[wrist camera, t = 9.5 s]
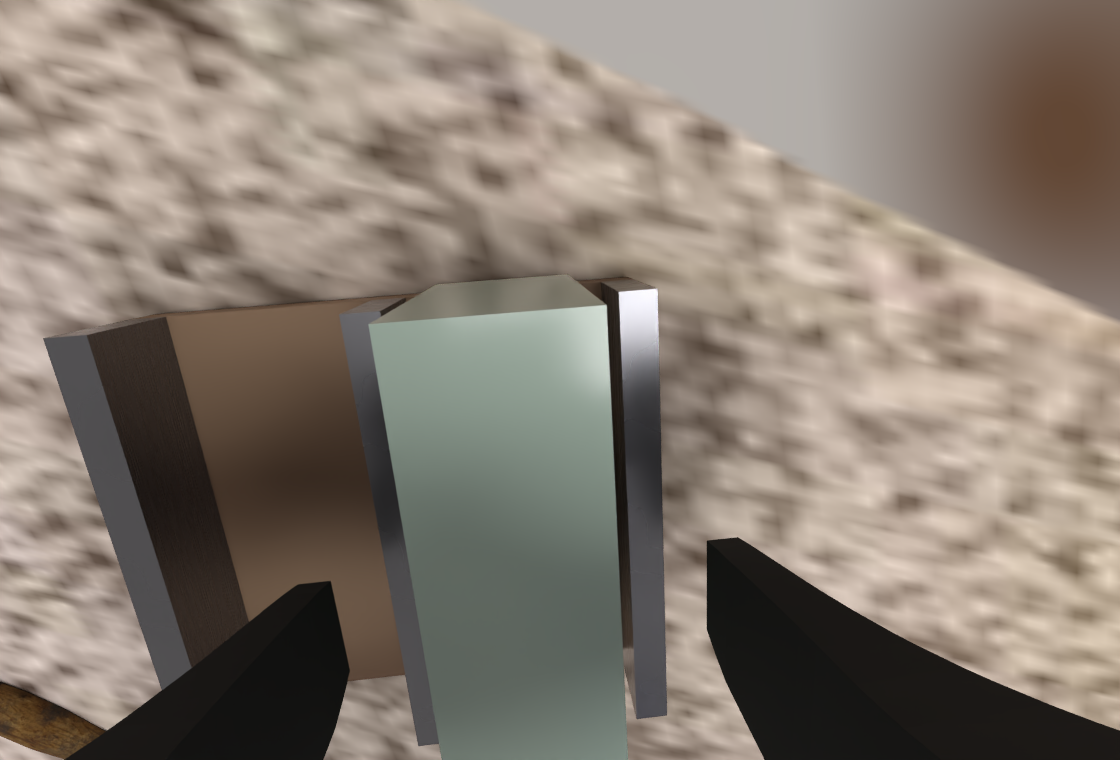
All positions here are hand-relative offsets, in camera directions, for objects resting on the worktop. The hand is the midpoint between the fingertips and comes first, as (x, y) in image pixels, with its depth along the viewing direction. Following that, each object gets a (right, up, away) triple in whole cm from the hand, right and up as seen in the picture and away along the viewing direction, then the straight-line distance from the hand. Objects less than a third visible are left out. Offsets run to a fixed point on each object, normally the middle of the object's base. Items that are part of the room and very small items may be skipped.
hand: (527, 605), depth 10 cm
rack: (-3, +1, +5) cm, 6 cm away
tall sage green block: (0, +2, +4) cm, 5 cm away
